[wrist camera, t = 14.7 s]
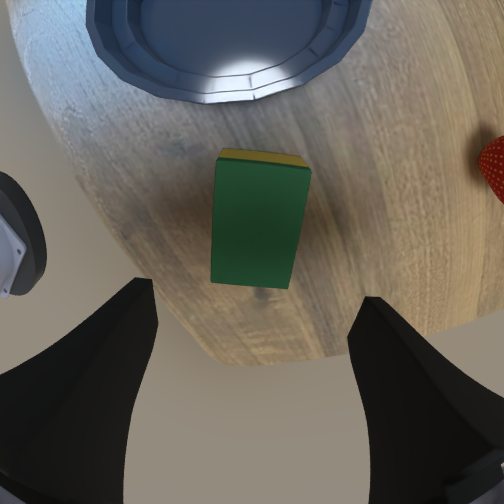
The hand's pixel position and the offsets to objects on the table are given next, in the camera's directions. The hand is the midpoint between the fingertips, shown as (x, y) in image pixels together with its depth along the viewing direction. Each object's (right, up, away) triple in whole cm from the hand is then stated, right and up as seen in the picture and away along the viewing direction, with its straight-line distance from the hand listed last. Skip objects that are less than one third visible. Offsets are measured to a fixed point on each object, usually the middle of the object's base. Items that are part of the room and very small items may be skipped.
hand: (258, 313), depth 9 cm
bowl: (-2, +16, +2) cm, 16 cm away
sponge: (0, +5, +8) cm, 9 cm away
